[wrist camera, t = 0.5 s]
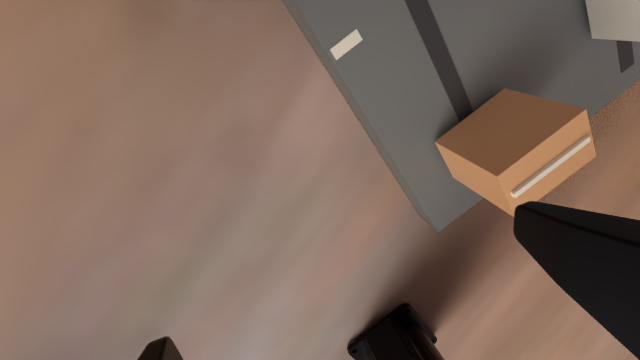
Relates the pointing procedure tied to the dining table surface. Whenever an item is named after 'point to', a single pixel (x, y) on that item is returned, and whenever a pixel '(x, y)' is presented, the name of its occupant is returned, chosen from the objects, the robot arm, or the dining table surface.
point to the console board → (455, 73)
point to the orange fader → (517, 147)
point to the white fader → (614, 19)
